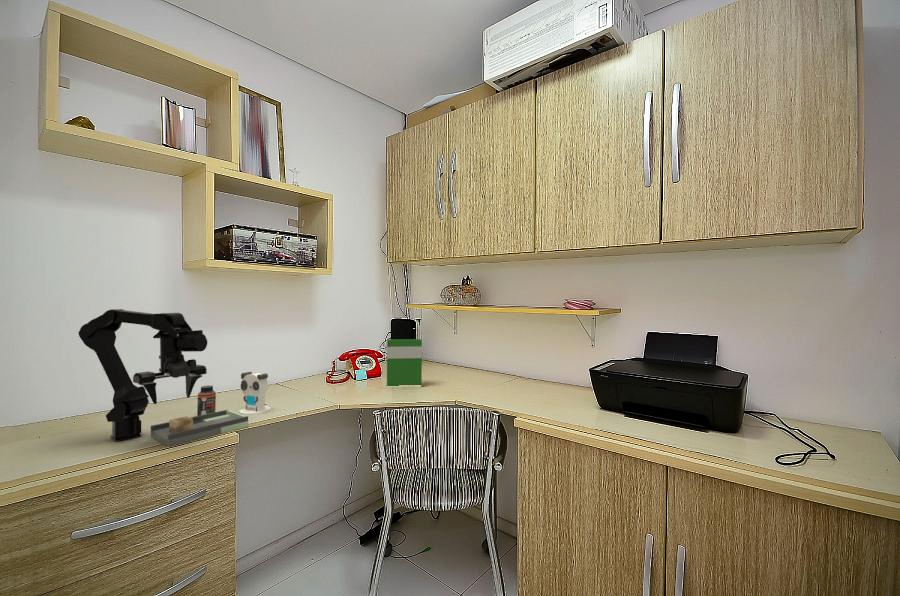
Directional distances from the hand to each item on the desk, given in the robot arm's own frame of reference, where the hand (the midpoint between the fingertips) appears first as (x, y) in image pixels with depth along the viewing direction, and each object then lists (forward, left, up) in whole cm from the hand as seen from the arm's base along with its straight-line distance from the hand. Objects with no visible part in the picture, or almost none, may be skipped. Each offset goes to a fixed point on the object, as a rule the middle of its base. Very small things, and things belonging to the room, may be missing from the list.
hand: (172, 400), depth 127 cm
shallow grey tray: (+9, 0, -12) cm, 15 cm away
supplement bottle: (+18, +18, -12) cm, 28 cm away
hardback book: (+103, -6, -12) cm, 104 cm away
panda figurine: (+33, +11, -12) cm, 37 cm away
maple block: (+3, 0, -10) cm, 10 cm away
